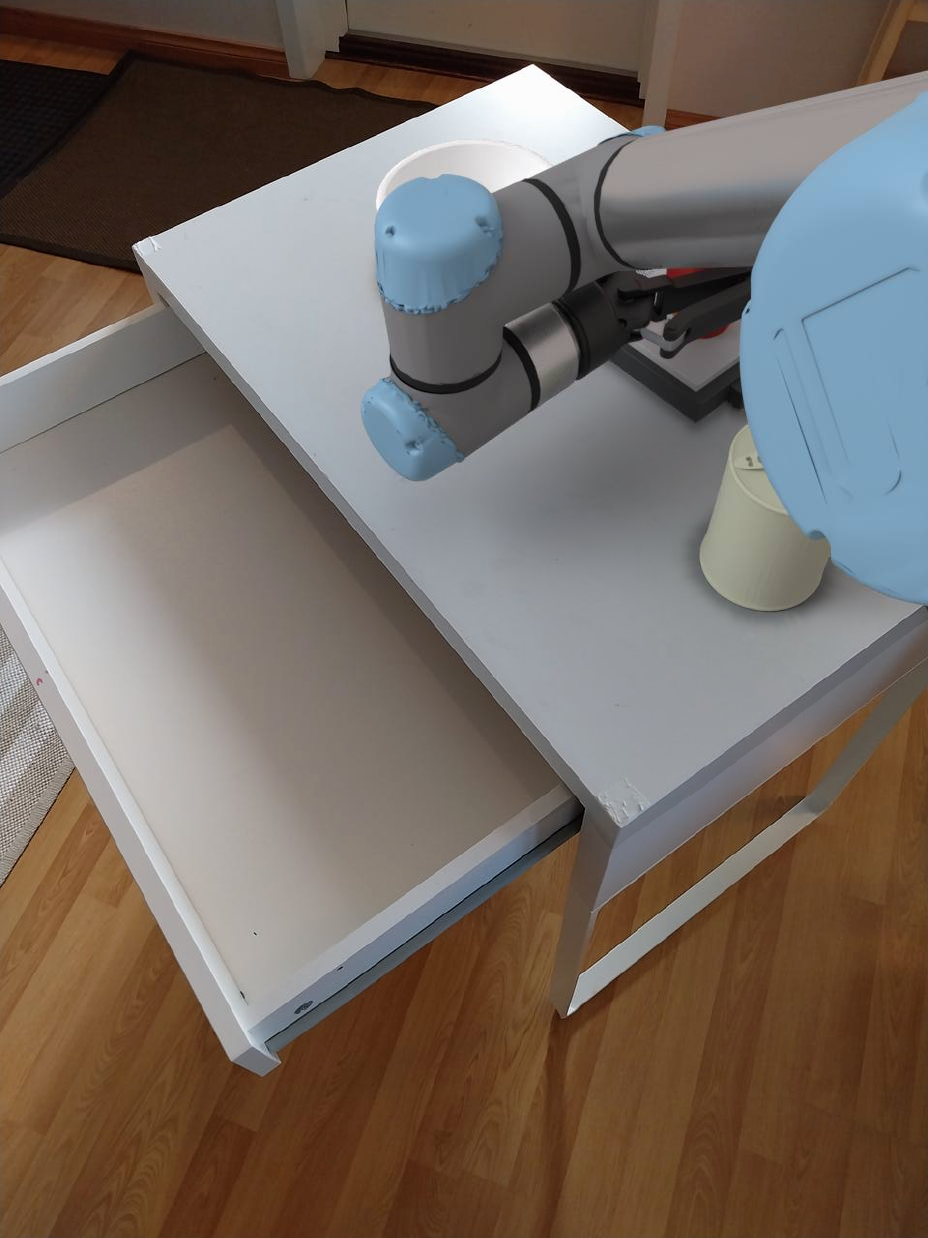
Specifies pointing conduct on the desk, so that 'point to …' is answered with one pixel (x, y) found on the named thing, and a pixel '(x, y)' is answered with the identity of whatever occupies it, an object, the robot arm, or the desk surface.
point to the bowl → (467, 164)
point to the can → (758, 539)
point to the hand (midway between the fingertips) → (753, 207)
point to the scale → (689, 371)
